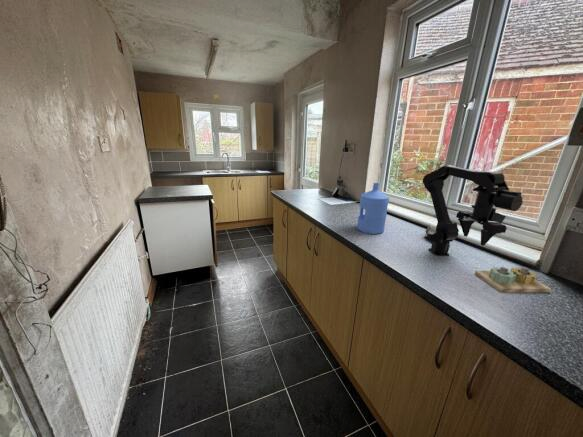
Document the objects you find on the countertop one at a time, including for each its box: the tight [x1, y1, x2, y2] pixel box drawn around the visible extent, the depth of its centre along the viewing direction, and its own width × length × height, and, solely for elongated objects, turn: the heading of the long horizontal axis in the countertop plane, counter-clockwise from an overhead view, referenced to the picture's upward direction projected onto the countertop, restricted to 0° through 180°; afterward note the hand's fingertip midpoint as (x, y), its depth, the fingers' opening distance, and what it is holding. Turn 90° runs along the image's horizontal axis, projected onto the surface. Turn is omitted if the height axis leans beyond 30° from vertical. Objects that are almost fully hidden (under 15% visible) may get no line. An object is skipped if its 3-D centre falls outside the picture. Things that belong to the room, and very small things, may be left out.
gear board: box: [474, 266, 552, 293], centre depth 88 cm, size 18×12×6 cm, turn 91°
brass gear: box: [510, 267, 538, 284], centre depth 88 cm, size 7×7×3 cm
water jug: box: [356, 182, 390, 235], centre depth 136 cm, size 16×16×28 cm
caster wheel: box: [423, 223, 436, 243], centre depth 126 cm, size 7×11×10 cm
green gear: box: [489, 266, 516, 284], centre depth 88 cm, size 7×7×3 cm
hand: (473, 240), depth 97 cm, fingers open, 9 cm apart
